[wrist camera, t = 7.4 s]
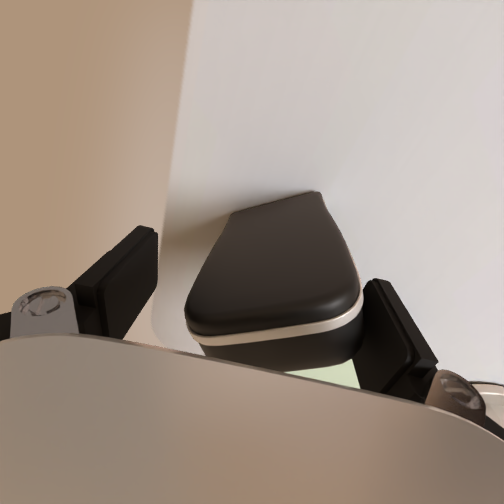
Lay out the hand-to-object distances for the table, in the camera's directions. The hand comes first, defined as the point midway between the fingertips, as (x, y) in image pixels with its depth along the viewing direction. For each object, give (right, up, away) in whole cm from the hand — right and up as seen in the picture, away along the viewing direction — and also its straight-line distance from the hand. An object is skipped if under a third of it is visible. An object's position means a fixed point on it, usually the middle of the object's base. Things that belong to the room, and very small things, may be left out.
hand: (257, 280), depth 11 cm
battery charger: (+2, +3, +8) cm, 9 cm away
